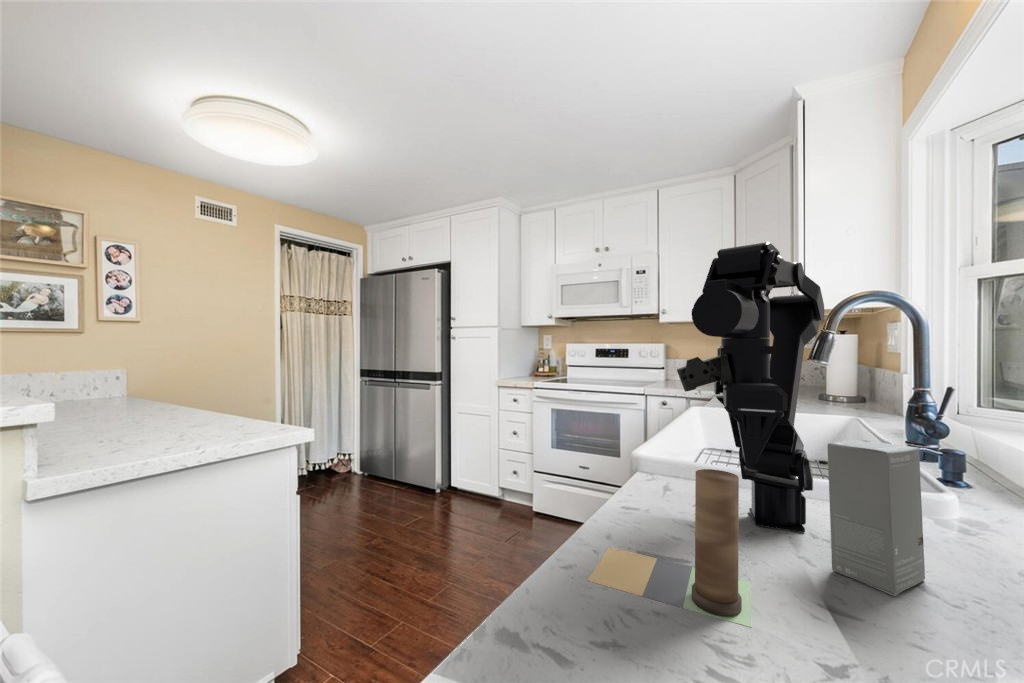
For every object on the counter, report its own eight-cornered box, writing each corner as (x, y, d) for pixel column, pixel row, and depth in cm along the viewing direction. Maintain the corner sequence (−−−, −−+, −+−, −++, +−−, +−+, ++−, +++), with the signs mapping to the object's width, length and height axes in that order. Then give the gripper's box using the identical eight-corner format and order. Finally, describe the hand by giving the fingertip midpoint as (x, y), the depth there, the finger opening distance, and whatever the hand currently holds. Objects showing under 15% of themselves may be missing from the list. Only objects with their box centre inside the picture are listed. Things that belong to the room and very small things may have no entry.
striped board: (587, 591, 47) (587, 580, 47) (609, 556, 55) (609, 546, 55) (751, 640, 39) (751, 627, 39) (750, 591, 47) (750, 580, 47)
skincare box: (895, 599, 46) (895, 454, 46) (822, 568, 52) (823, 441, 52) (929, 580, 50) (929, 446, 50) (857, 553, 56) (857, 435, 56)
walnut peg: (700, 614, 41) (701, 480, 41) (685, 588, 46) (686, 467, 46) (750, 618, 41) (750, 482, 41) (729, 591, 45) (730, 469, 45)
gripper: (680, 339, 68) (679, 436, 68) (680, 336, 51) (680, 466, 51) (758, 339, 64) (758, 442, 64) (788, 336, 47) (788, 477, 47)
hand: (744, 454), depth 56 cm, fingers open, 9 cm apart
